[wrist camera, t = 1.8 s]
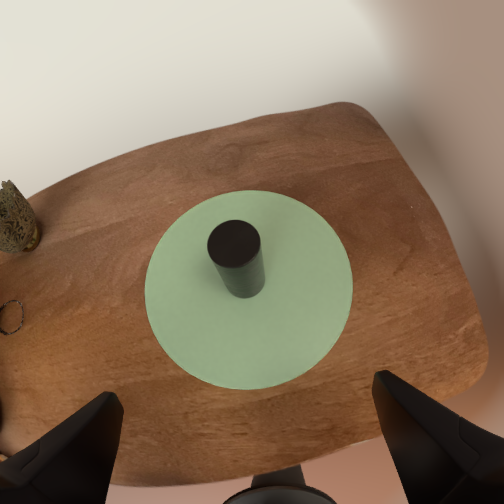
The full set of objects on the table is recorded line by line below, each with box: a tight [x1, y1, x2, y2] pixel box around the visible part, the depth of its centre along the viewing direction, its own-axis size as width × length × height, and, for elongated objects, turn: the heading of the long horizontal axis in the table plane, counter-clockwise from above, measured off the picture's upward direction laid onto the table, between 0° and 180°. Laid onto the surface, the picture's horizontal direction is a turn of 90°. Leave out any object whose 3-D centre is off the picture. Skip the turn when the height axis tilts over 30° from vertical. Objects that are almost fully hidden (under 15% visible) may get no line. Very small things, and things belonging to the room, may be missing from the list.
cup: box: [0, 180, 40, 253], centre depth 25 cm, size 8×7×8 cm
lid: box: [145, 190, 353, 390], centre depth 16 cm, size 13×13×6 cm
